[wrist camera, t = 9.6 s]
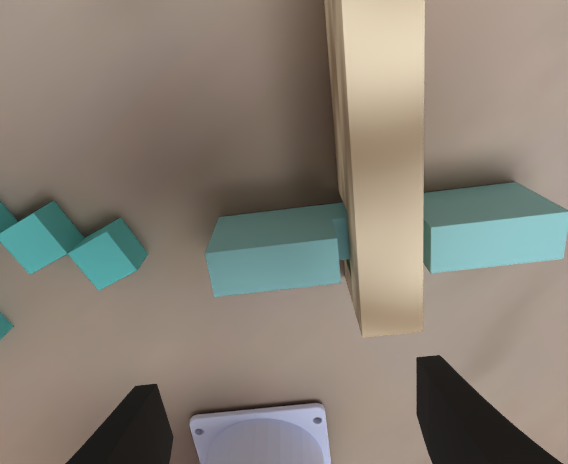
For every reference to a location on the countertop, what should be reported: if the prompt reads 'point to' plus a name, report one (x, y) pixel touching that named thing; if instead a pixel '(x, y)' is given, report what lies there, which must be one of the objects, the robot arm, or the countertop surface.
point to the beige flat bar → (380, 155)
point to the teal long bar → (335, 243)
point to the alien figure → (69, 247)
